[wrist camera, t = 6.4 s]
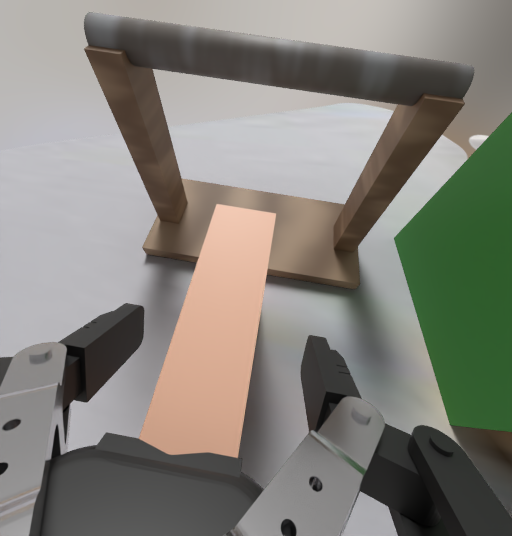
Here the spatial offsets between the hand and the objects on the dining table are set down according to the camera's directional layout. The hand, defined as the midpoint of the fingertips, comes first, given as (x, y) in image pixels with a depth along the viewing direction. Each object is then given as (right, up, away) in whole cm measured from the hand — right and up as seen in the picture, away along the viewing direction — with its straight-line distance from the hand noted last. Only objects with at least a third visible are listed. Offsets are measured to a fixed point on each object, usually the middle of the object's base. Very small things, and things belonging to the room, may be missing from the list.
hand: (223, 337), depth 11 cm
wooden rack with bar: (+2, +7, +15) cm, 17 cm away
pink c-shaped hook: (0, -4, +8) cm, 9 cm away
